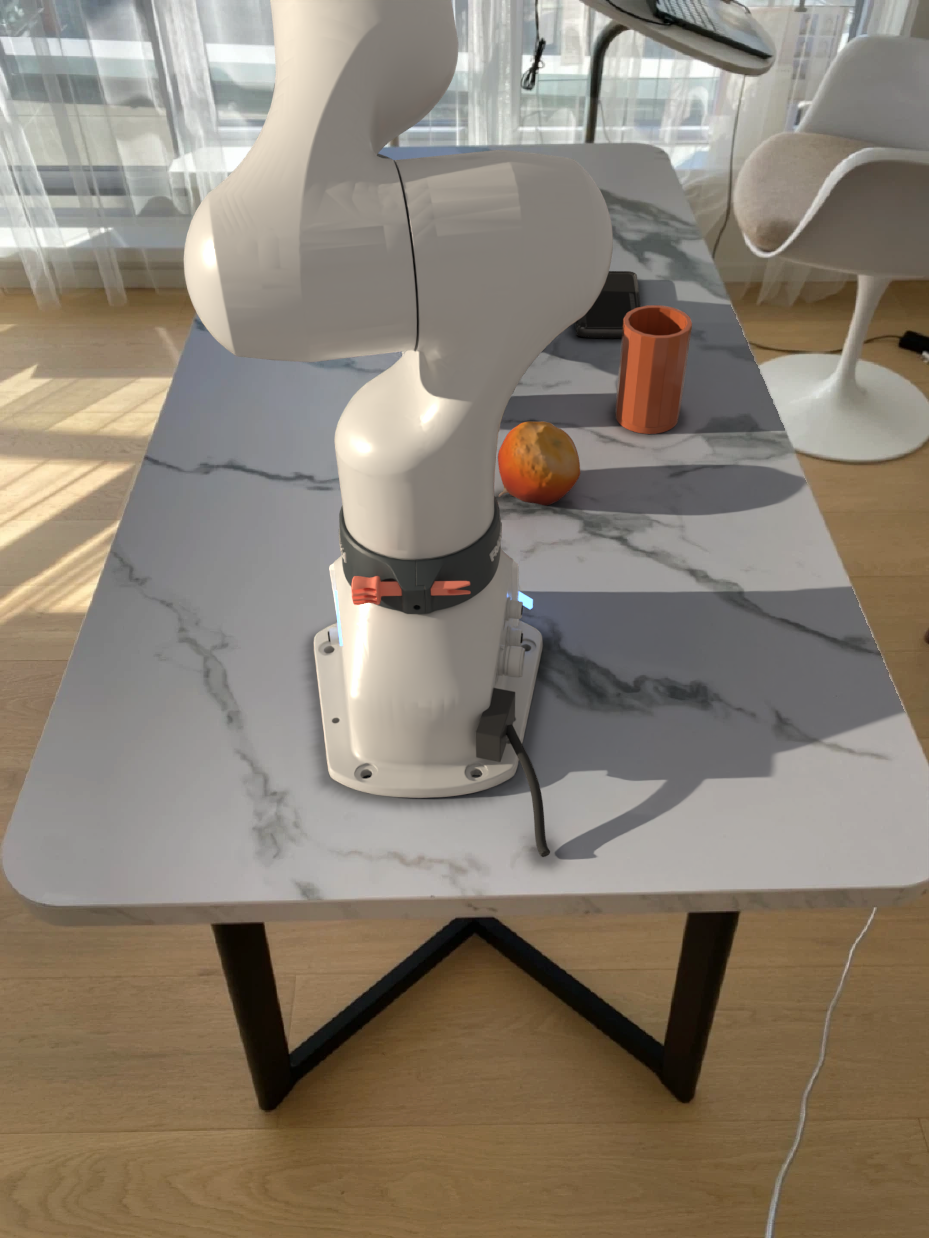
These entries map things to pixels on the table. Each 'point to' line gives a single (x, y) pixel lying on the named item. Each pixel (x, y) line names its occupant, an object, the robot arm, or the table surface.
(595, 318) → the phone
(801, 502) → the table surface
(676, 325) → the cup
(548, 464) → the fruit
